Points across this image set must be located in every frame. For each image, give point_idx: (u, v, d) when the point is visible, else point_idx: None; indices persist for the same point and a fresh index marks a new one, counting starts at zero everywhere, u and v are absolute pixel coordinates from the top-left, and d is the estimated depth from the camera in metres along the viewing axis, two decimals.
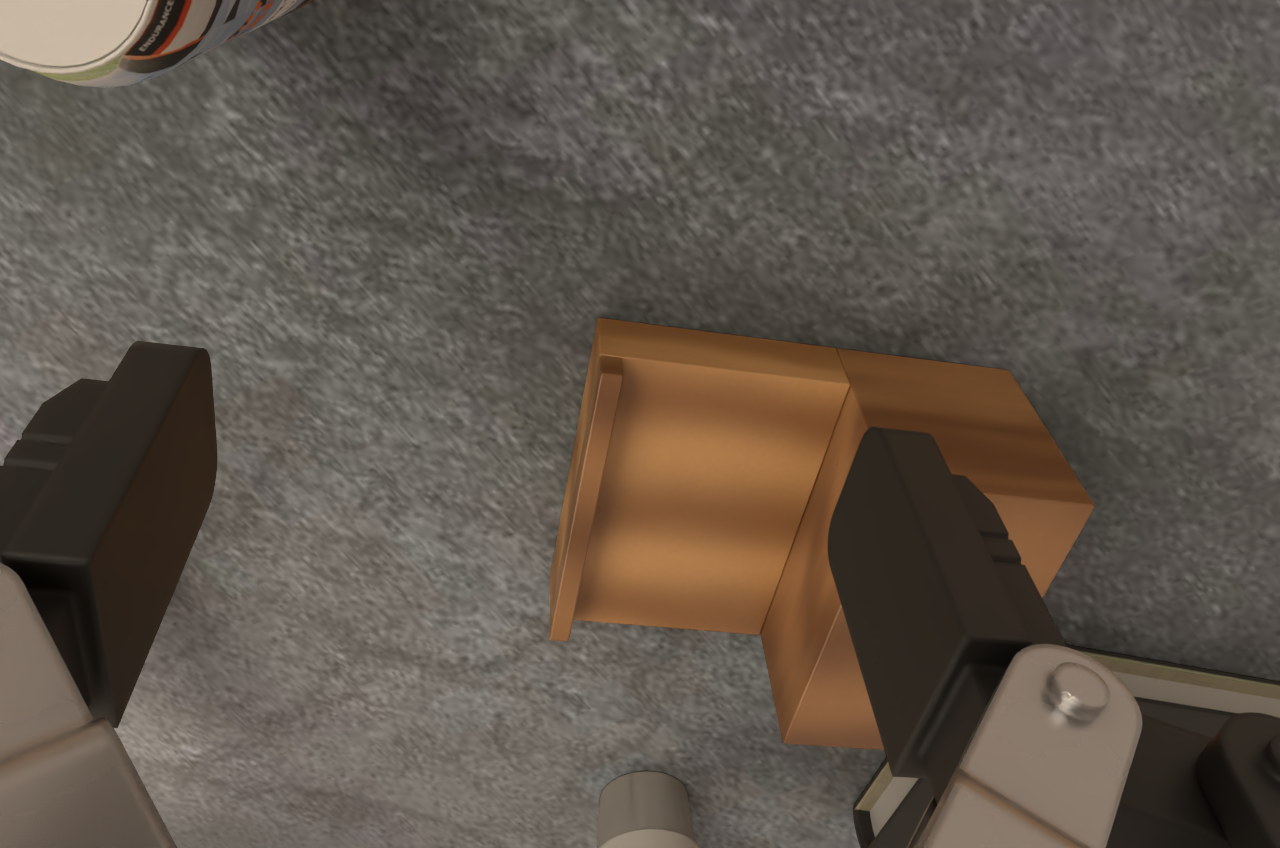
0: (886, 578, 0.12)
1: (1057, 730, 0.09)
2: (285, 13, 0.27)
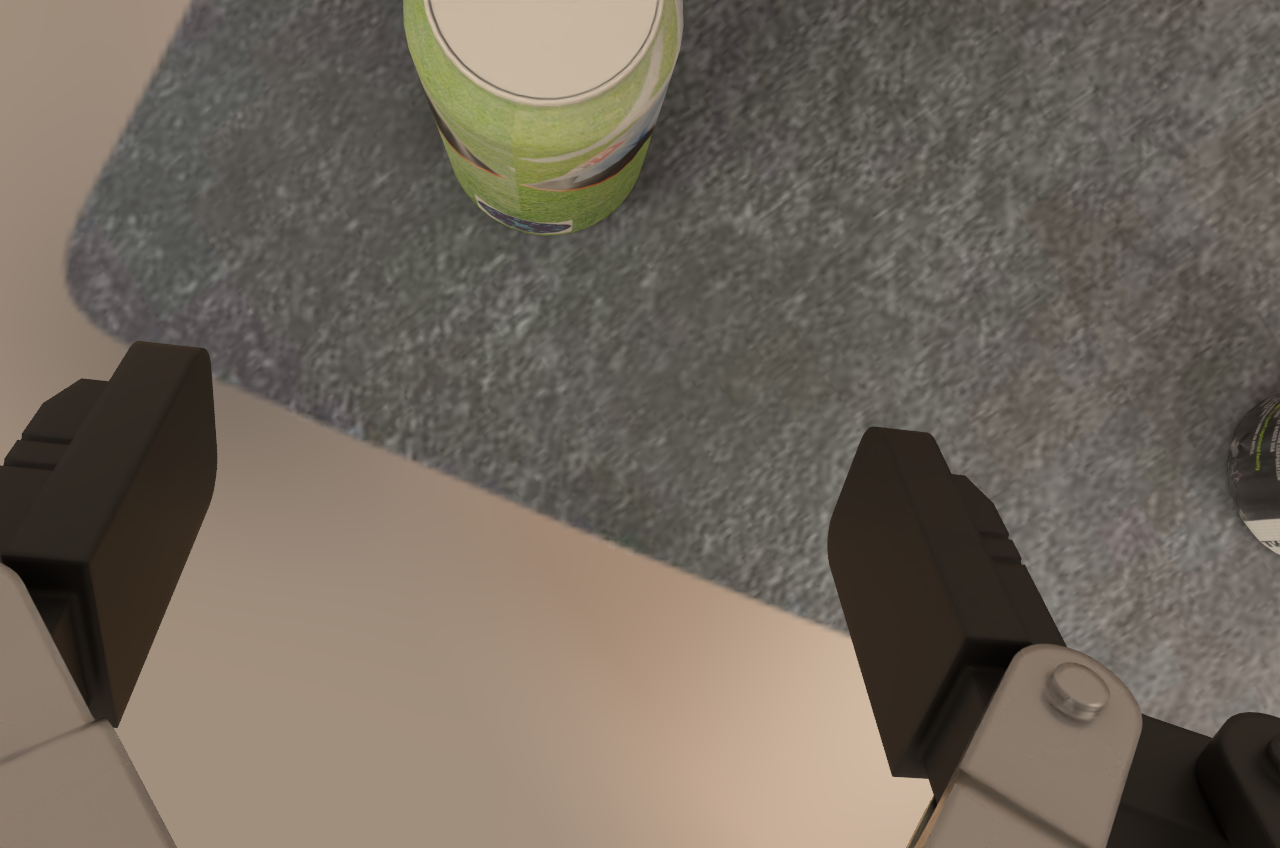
0: (887, 577, 0.12)
1: (1057, 729, 0.09)
2: None
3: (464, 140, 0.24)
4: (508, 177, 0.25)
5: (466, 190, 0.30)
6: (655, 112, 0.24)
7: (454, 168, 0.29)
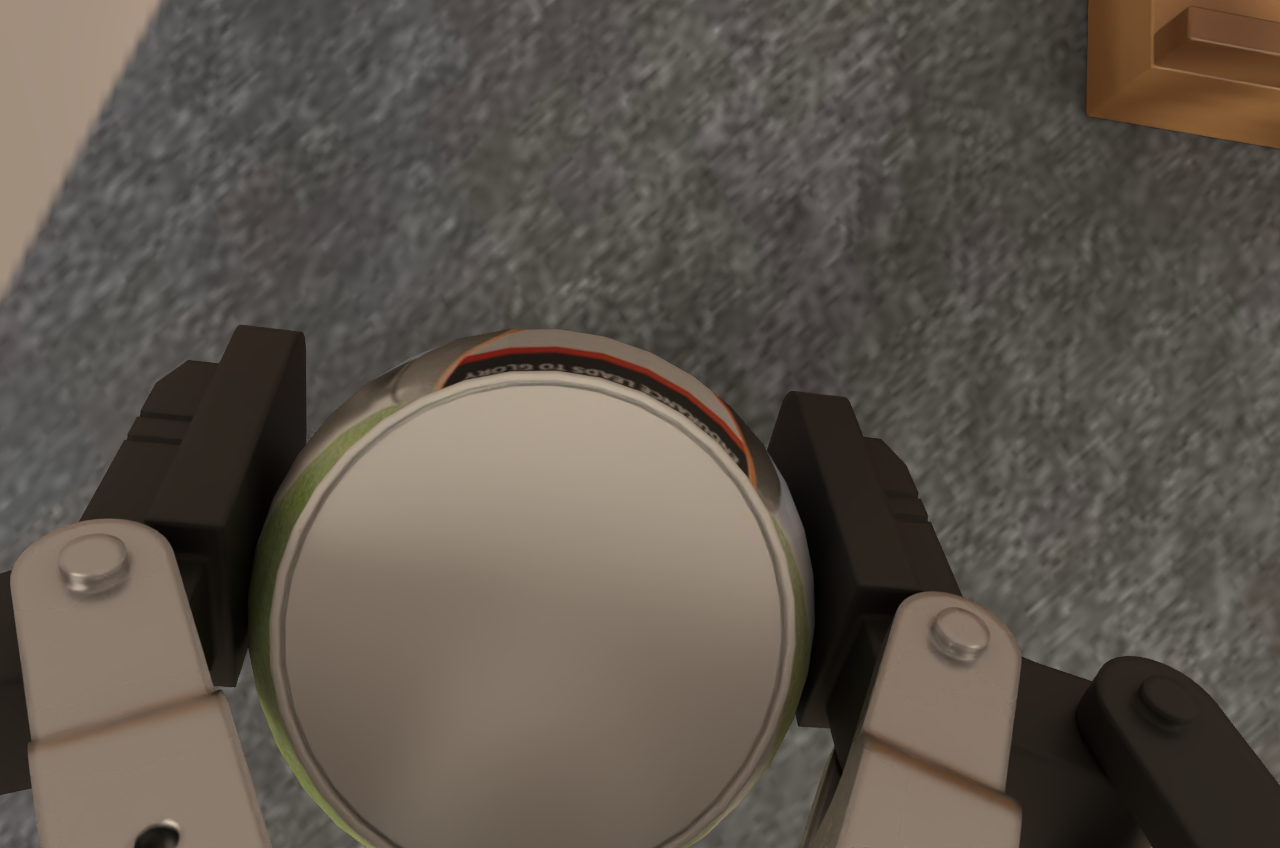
0: None
1: (935, 669, 0.09)
2: None
3: None
4: None
5: None
6: None
7: None
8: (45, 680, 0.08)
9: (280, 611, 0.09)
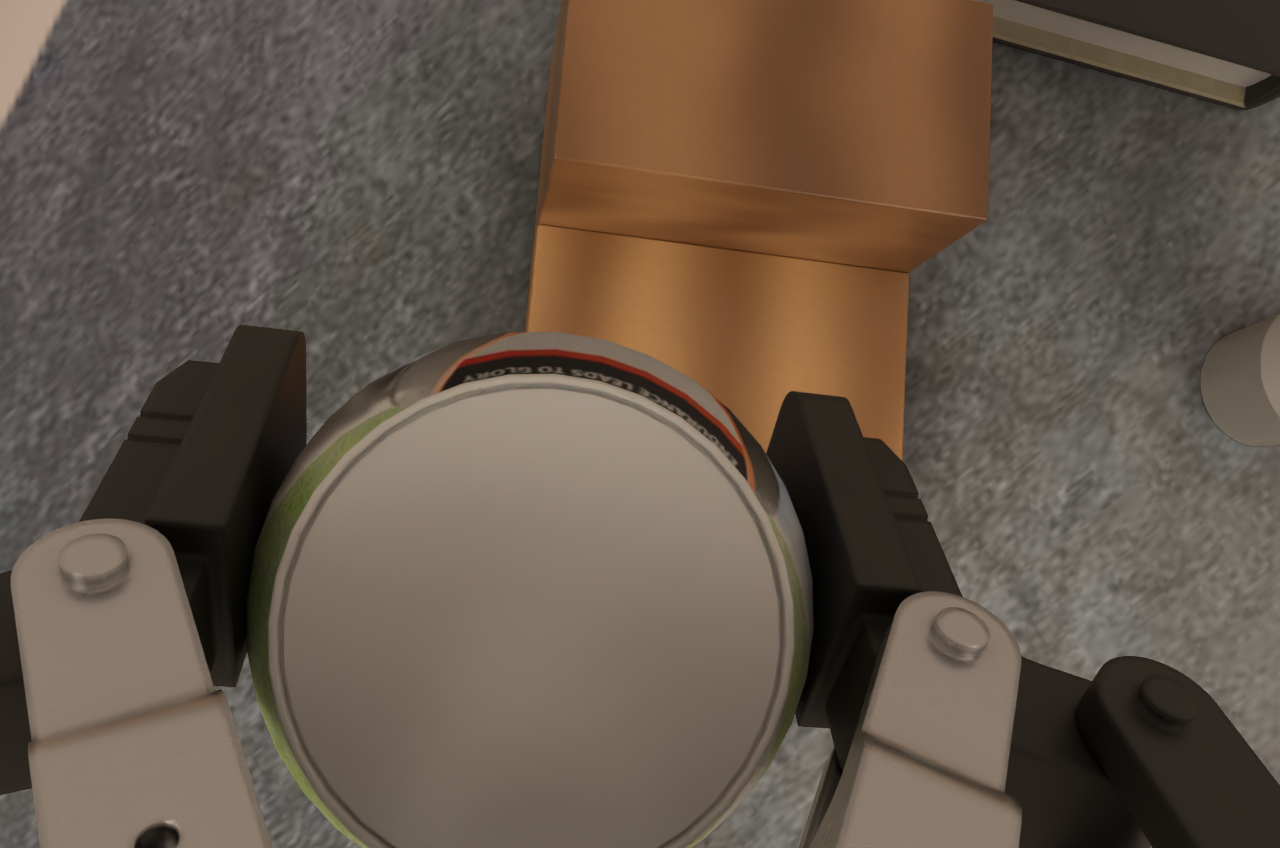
0: None
1: (935, 670, 0.09)
2: None
3: None
4: None
5: None
6: None
7: None
8: (45, 680, 0.08)
9: (278, 615, 0.09)
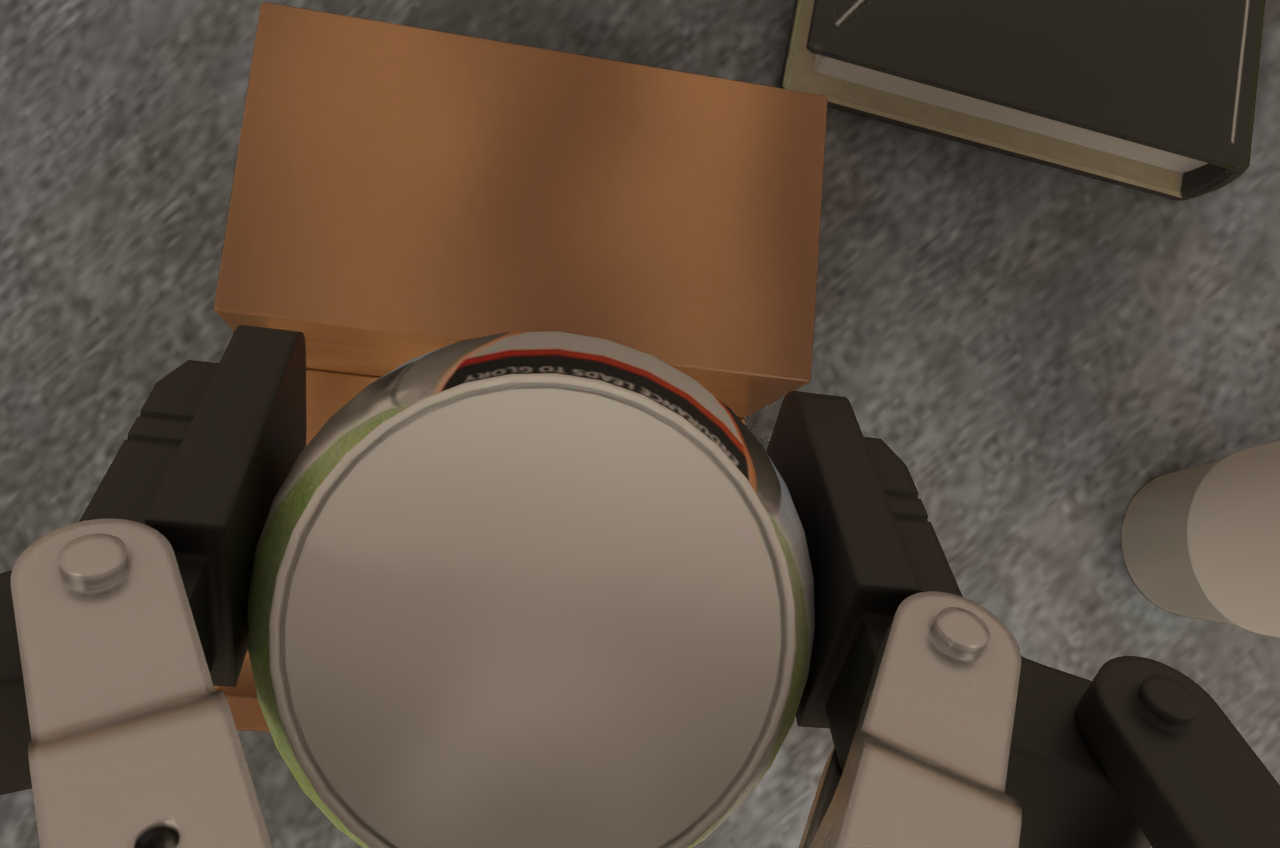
0: None
1: (935, 669, 0.09)
2: None
3: None
4: None
5: None
6: None
7: None
8: (45, 679, 0.08)
9: (280, 614, 0.09)
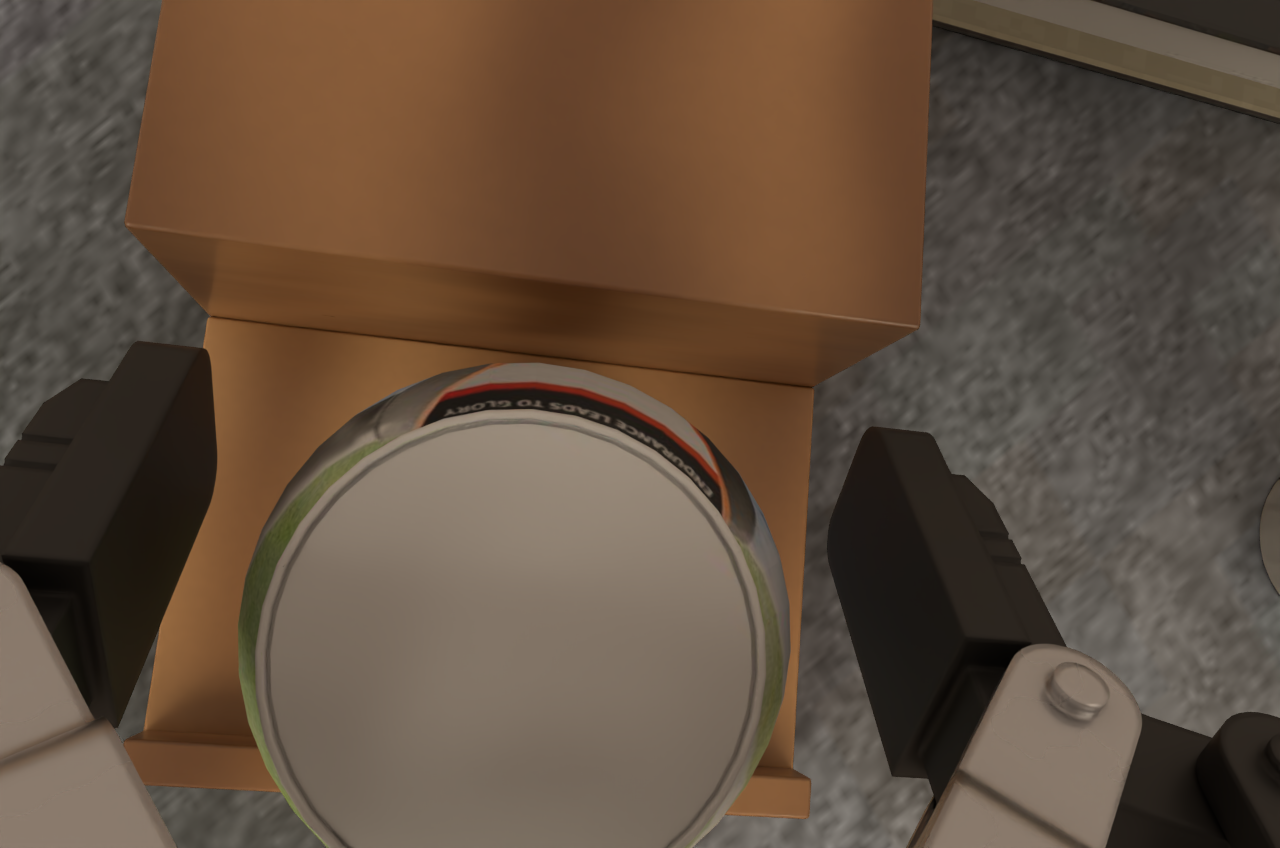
0: (886, 578, 0.12)
1: (1057, 729, 0.09)
2: None
3: None
4: None
5: None
6: None
7: None
8: None
9: (265, 644, 0.10)
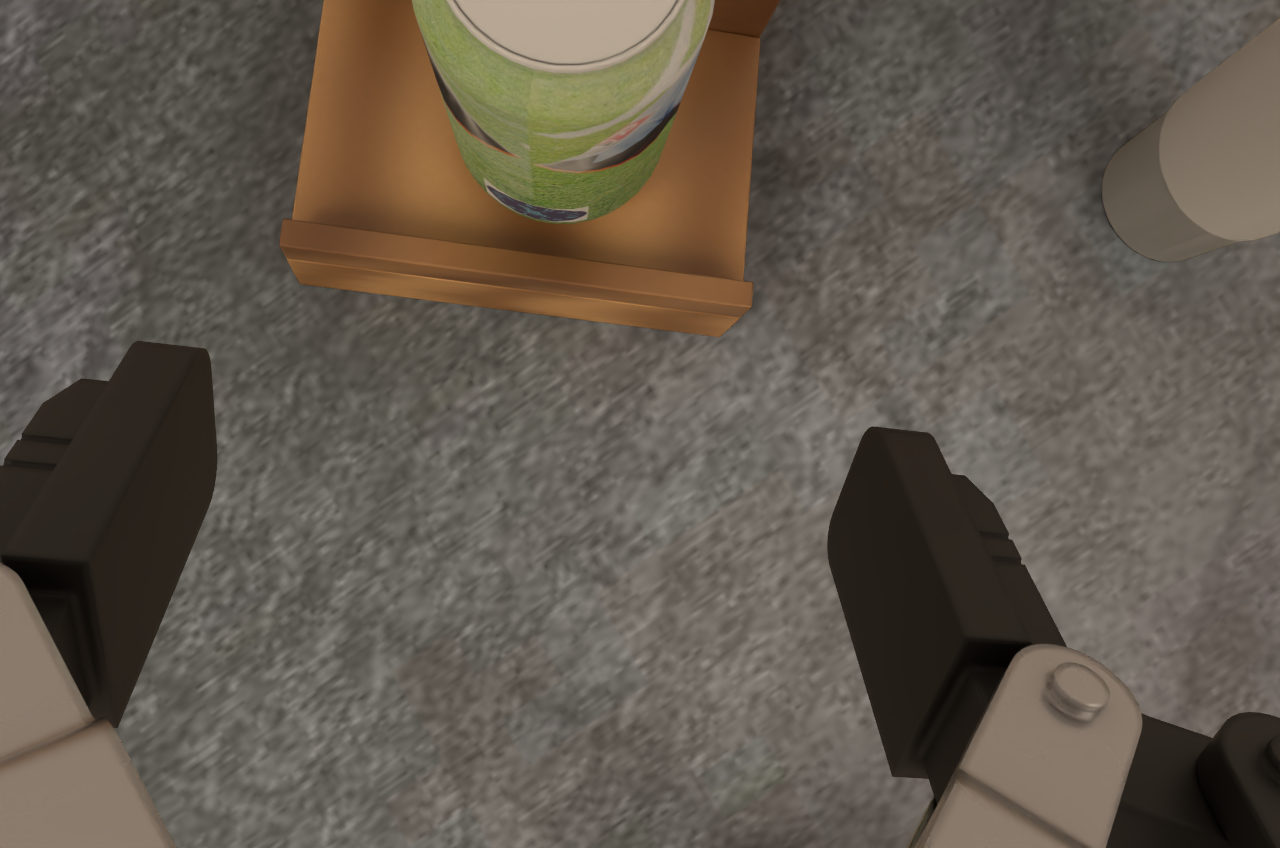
0: (885, 577, 0.12)
1: (1057, 730, 0.09)
2: None
3: (474, 114, 0.22)
4: (521, 156, 0.23)
5: (474, 174, 0.28)
6: (683, 85, 0.22)
7: (462, 150, 0.27)
8: None
9: None
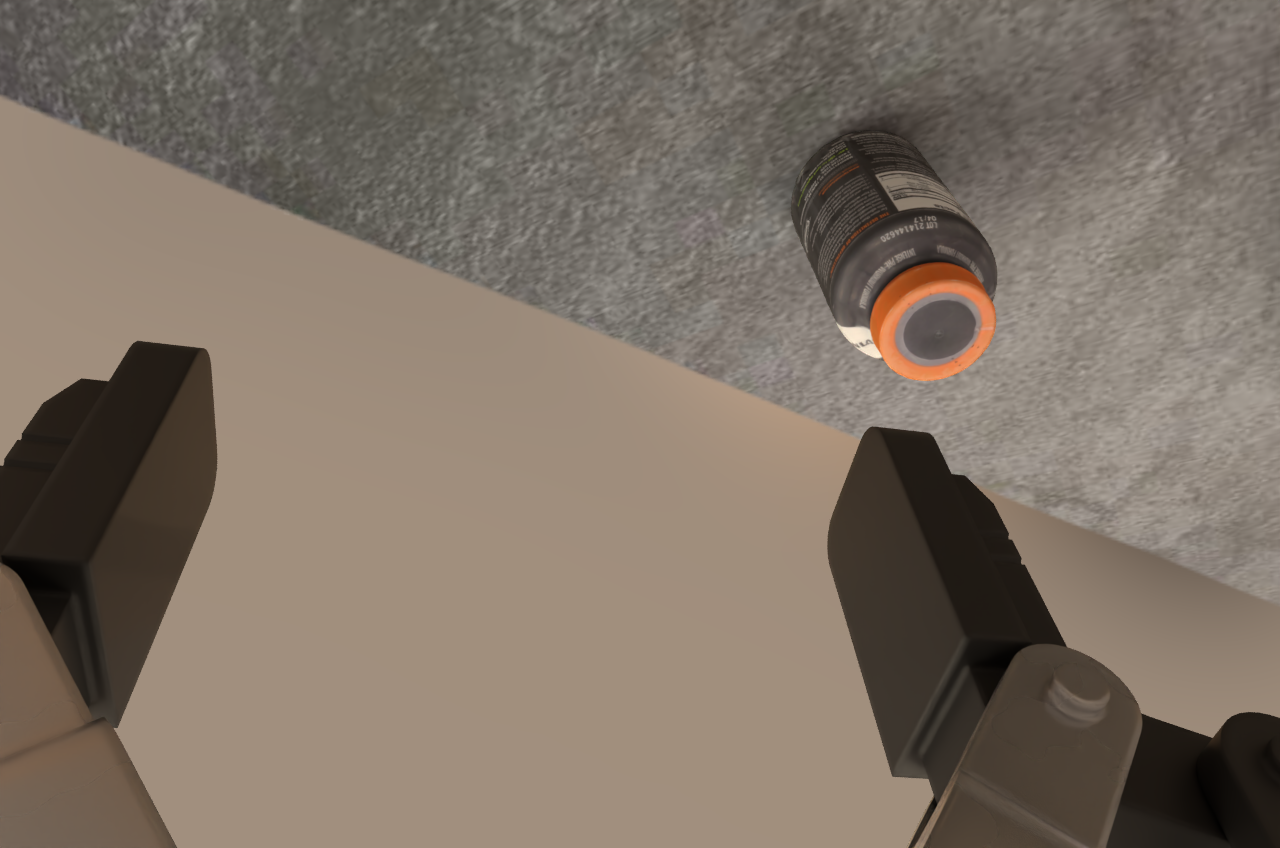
0: (887, 577, 0.12)
1: (1057, 729, 0.09)
2: None
3: None
4: None
5: None
6: None
7: None
8: None
9: None
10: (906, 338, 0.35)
